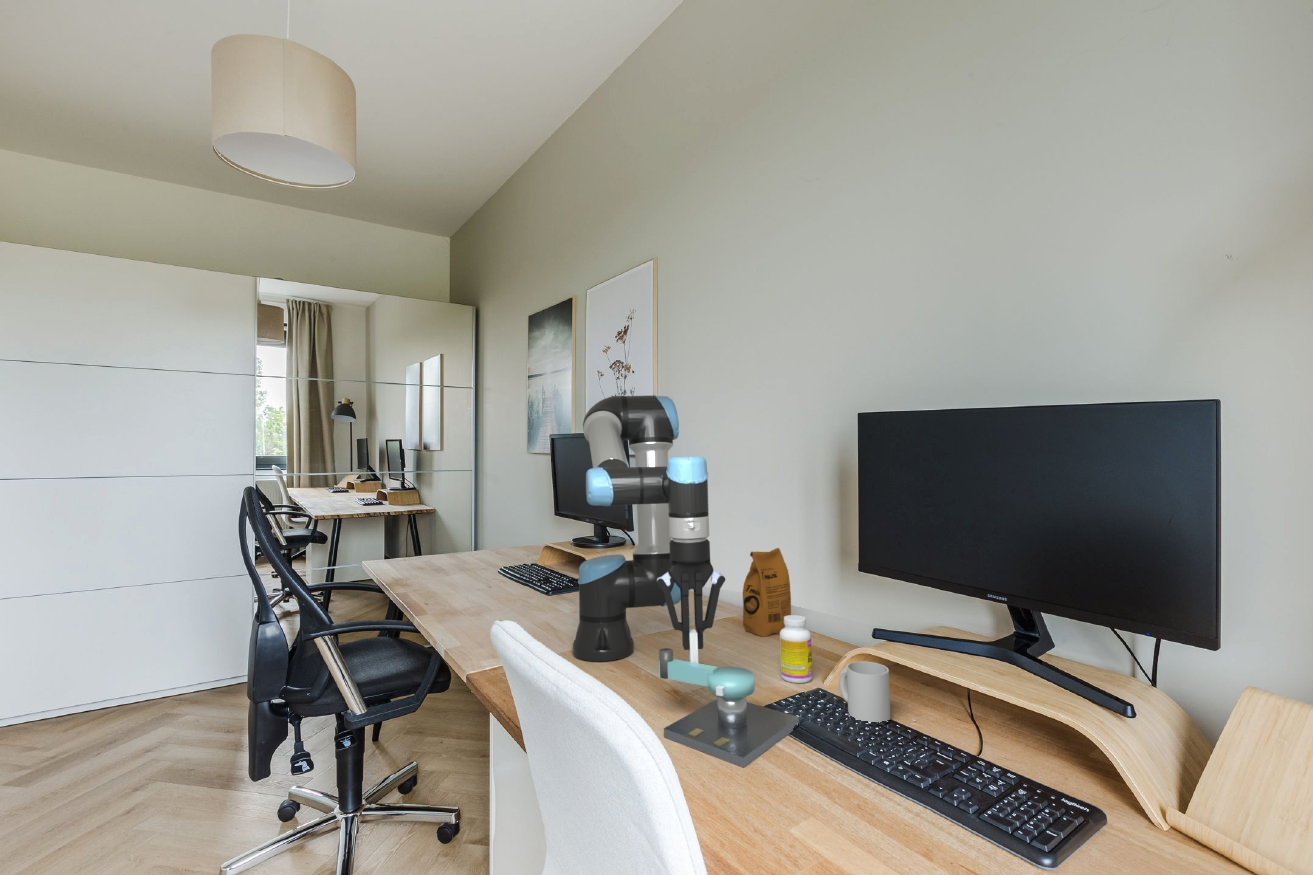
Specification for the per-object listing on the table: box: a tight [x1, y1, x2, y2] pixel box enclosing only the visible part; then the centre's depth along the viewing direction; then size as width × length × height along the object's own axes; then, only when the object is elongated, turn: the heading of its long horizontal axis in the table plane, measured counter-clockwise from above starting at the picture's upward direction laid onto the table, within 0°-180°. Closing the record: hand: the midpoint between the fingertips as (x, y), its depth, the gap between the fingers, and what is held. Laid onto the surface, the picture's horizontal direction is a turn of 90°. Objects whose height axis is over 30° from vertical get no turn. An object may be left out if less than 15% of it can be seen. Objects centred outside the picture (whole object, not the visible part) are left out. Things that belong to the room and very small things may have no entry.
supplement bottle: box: [779, 614, 813, 684], centre depth 126 cm, size 7×7×13 cm
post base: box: [663, 696, 800, 768], centre depth 102 cm, size 16×18×7 cm
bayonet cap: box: [658, 647, 756, 698], centre depth 105 cm, size 18×10×5 cm, turn 59°
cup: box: [838, 660, 891, 723], centre depth 107 cm, size 7×10×9 cm
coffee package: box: [742, 547, 792, 638], centre depth 162 cm, size 10×12×22 cm
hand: (693, 666), depth 109 cm, fingers closed
